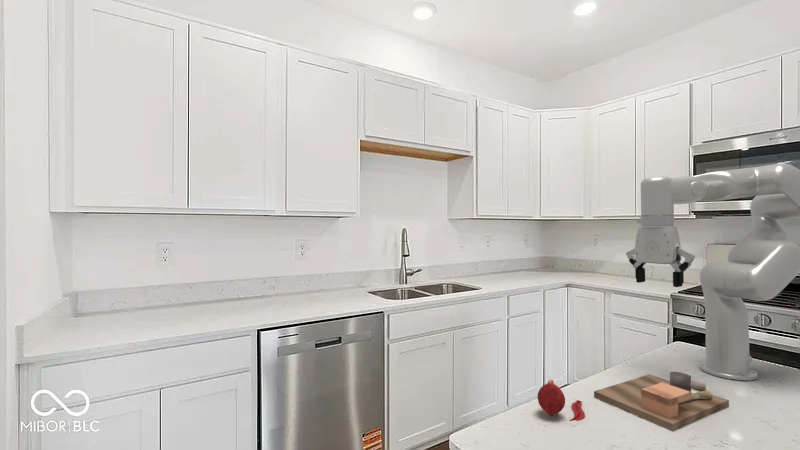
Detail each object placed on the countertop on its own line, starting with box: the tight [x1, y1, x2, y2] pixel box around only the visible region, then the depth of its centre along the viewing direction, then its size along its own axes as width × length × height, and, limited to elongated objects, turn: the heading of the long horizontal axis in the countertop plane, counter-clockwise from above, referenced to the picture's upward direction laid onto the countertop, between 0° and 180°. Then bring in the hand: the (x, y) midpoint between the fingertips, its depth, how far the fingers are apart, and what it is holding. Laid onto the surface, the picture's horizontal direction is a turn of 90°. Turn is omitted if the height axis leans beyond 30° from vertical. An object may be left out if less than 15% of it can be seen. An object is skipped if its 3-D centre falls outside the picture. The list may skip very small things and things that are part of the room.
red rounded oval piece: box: [537, 378, 566, 417], centre depth 86 cm, size 6×6×8 cm
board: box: [593, 373, 730, 432], centre depth 92 cm, size 23×18×5 cm
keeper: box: [641, 382, 691, 418], centre depth 86 cm, size 8×6×4 cm
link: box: [669, 371, 713, 402], centre depth 90 cm, size 14×5×6 cm, turn 108°
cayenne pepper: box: [569, 400, 586, 422], centre depth 88 cm, size 12×5×2 cm, turn 134°
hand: (658, 284), depth 105 cm, fingers open, 9 cm apart
